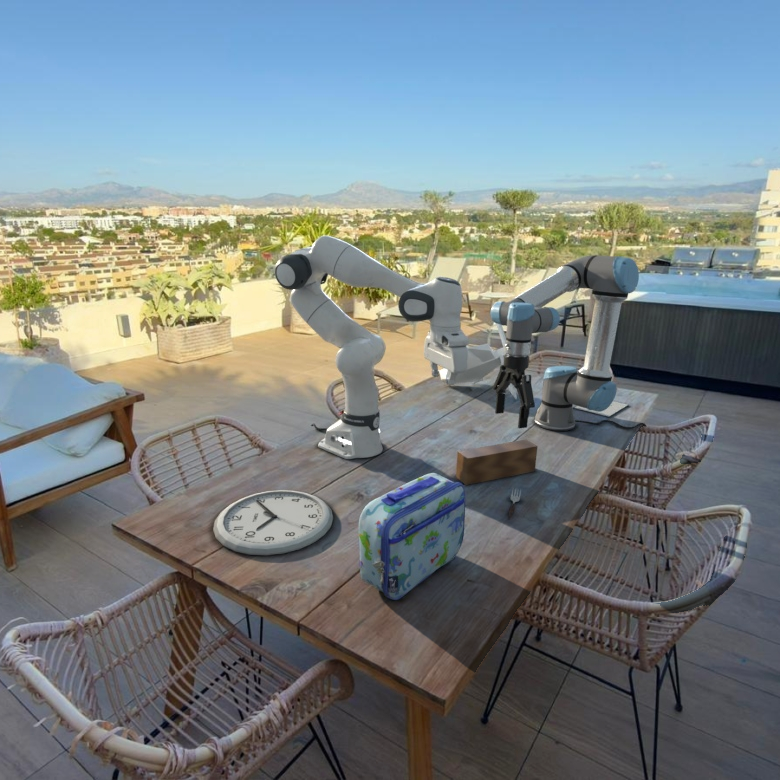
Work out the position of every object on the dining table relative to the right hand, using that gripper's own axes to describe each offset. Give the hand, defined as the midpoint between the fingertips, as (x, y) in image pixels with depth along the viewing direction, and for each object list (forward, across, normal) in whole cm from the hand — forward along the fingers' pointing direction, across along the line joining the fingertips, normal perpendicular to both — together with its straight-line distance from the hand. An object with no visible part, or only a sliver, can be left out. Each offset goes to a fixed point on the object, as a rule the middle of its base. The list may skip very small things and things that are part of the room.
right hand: (510, 420), depth 165 cm
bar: (+15, +5, -7) cm, 18 cm away
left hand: (-14, -3, -23) cm, 27 cm away
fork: (+16, +25, -13) cm, 32 cm away
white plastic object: (+15, -72, +29) cm, 79 cm away
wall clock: (+16, +12, -76) cm, 78 cm away
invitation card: (+14, -38, +70) cm, 81 cm away
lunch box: (+16, +42, -49) cm, 67 cm away
